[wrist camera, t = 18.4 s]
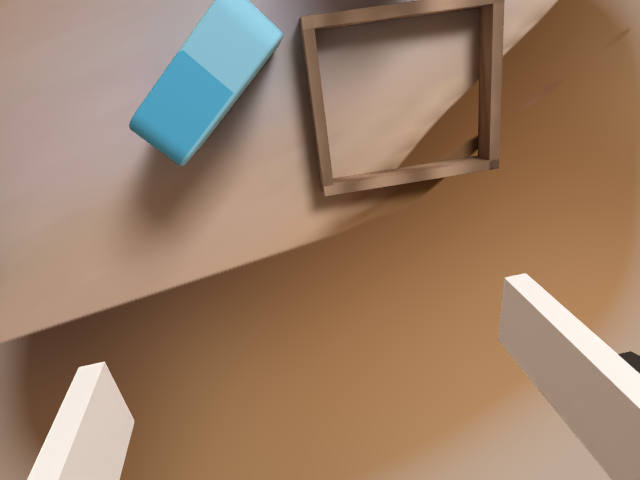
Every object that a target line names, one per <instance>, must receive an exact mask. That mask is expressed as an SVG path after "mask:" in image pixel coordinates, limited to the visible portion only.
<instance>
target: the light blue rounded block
mask: <svg viewBox="0 0 640 480" xmlns="http://www.w3.org/2000/svg"><path fill="white" fill-rule="evenodd" d="M282 37H283V33H282V32H281V31H280V30H279V29H278V28H277V27H276V26H275V25H274V24H273V23H272V22H271V21H270V20H269V19H268V18H267V17H266V16H265V15H263V14H262V13H261V12H260V11H259V10H258V9H257V8H256V7H255V6H254V5H253V4H252V3H251V2H250V1H249V0H215V1H214V2H213V3H212V5H211V6H210V8H209V9H208V10H207V12H206V13H205V15H204V16H203V17H202V19H201V20H200V22H199V23H198V25H197V26H196V27H195V29H194V30H193V32H192V33H191V34H190V36H189V37H188V39H187V40H186V42H185V43H184V44H183V46H182V47H181V49H180V50H179V51H178V53H177V54H176V56H175V57H174V59H173V60H172V61H171V63H170V64H169V66H168V67H167V68H166V70H165V71H164V73H163V74H162V76H161V77H160V78H159V80H158V81H157V83H156V84H155V85H154V87H153V88H152V90H151V91H150V93H149V94H148V95H147V97H146V98H145V100H144V101H143V102H142V104H141V105H140V107H139V108H138V110H137V111H136V112H135V114H134V116H133V117H132V119H131V121H130V124H129V127H130V129H131V130H132V131H133V132H135V133H136V134H137V135H139V136H140V137H142V138H143V139H144V140H146V141H147V142H148V143H150V144H151V145H152V146H154V147H155V148H156V149H158V150H159V151H160V152H162V153H163V154H165V155H166V156H167V157H169V158H170V159H171V160H173V161H174V162H175V163H177V164H178V165H179V166H184V165H185V164H186V163H187V162H188V161H189V160H190V159H191V157H192V156H193V155H194V154H195V153H196V152H197V151H198V150H199V148H200V147H201V146H202V145H203V144H204V142H205V141H206V140H207V139H208V137H209V136H210V135H211V133H212V132H213V131H214V130H215V128H216V127H217V126H218V124H219V123H220V122H221V120H222V119H223V118H224V116H225V115H226V114H227V113H228V111H229V110H230V109H231V107H232V106H233V105H234V103H235V102H236V101H237V99H238V98H239V97H240V95H241V94H242V93H243V92H244V90H245V89H246V88H247V86H248V85H249V84H250V82H251V81H252V80H253V78H254V77H255V76H256V75H257V73H258V72H259V71H260V69H261V68H262V67H263V65H264V64H265V63H266V61H267V60H268V59H269V58H270V56H271V55H272V54H273V52H274V51H275V50H276V48H277V47H278V45H279V44H280V41H281V39H282Z"/></svg>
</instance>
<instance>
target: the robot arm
mask: <svg viewBox="0 0 640 480" xmlns="http://www.w3.org/2000/svg"><path fill="white" fill-rule="evenodd" d="M498 340H499V342H500V343H501V344H502V345H503V346H504V348H505V349H506V350H507V351H508V353H509V354H510V355H511V356H512V357H513V359H514V360H515V361H516V363H517V364H518V365H519V366H520V367H521V369H522V370H523V371H524V372H525V374H526V375H527V376H528V377H529V379H530V380H531V381H532V382H533V383H534V385H535V386H536V387H537V388H538V390H539V391H540V392H541V393H542V395H543V396H544V397H545V398H546V399H547V401H548V402H549V403H550V404H551V406H552V407H553V408H554V409H555V410H556V412H557V413H558V414H559V415H560V417H561V418H562V419H563V420H564V421H565V423H566V424H567V425H568V427H569V428H570V429H571V430H572V431H573V433H574V434H575V435H576V436H577V437H578V439H579V440H580V441H581V442H582V443H583V445H584V446H585V447H586V448H587V450H588V451H589V452H590V454H591V455H592V456H593V457H594V458H595V460H596V461H597V462H598V463H599V465H600V466H601V467H602V468H603V470H604V471H605V472H606V473H607V474H608V476H609V477H610V478H611V479H612V480H640V356H639V355H637V354H635V353H633V352H626V353H622V354H617V353H616V352H615V351H613V350H612V349H611V348H610V347H609V346H608V345H606V344H605V343H604V342H603V341H602V340H601V339H600V338H599V337H598V336H596V335H595V334H594V333H593V332H592V331H590V329H588V328H587V327H586V326H585V325H584V324H583V323H582V322H580V321H579V320H578V319H577V318H576V317H575V316H574V315H572V314H571V313H570V312H569V311H568V310H567V309H566V308H565V307H563V306H562V305H561V304H560V303H559V302H558V301H557V300H555V299H554V298H553V297H552V296H551V295H550V294H549V293H548V292H546V291H545V290H544V289H543V288H542V287H541V286H539V285H538V284H537V283H536V282H535V281H534V280H533V279H531V278H530V277H529V276H528V275H527V274H526V273H525V274H520V275H515V276H510V277H506V278H504V287H503V296H502V306H501V316H500V325H499V335H498ZM133 425H134V419H133V417H132V415H131V413H130V411H129V409H128V407H127V405H126V403H125V401H124V399H123V397H122V396H121V393H120V391H119V389H118V387H117V385H116V383H115V382H114V379H113V378H112V376H111V374H110V372H109V370H108V368H107V366H106V364H105V362H101V363H96V364H92V365H87V366H82V367H79V368H78V371H77V373H76V375H75V377H74V379H73V381H72V383H71V386H70V388H69V390H68V392H67V394H66V396H65V399H64V401H63V403H62V405H61V407H60V410H59V412H58V414H57V416H56V418H55V420H54V423H53V425H52V427H51V429H50V431H49V434H48V436H47V438H46V440H45V442H44V444H43V447H42V449H41V451H40V453H39V455H38V457H37V460H36V462H35V464H34V466H33V468H32V470H31V473H30V475H29V477H28V479H27V480H119V479H120V475H121V472H122V468H123V464H124V460H125V455H126V452H127V448H128V444H129V441H130V437H131V433H132V429H133Z"/></svg>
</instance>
